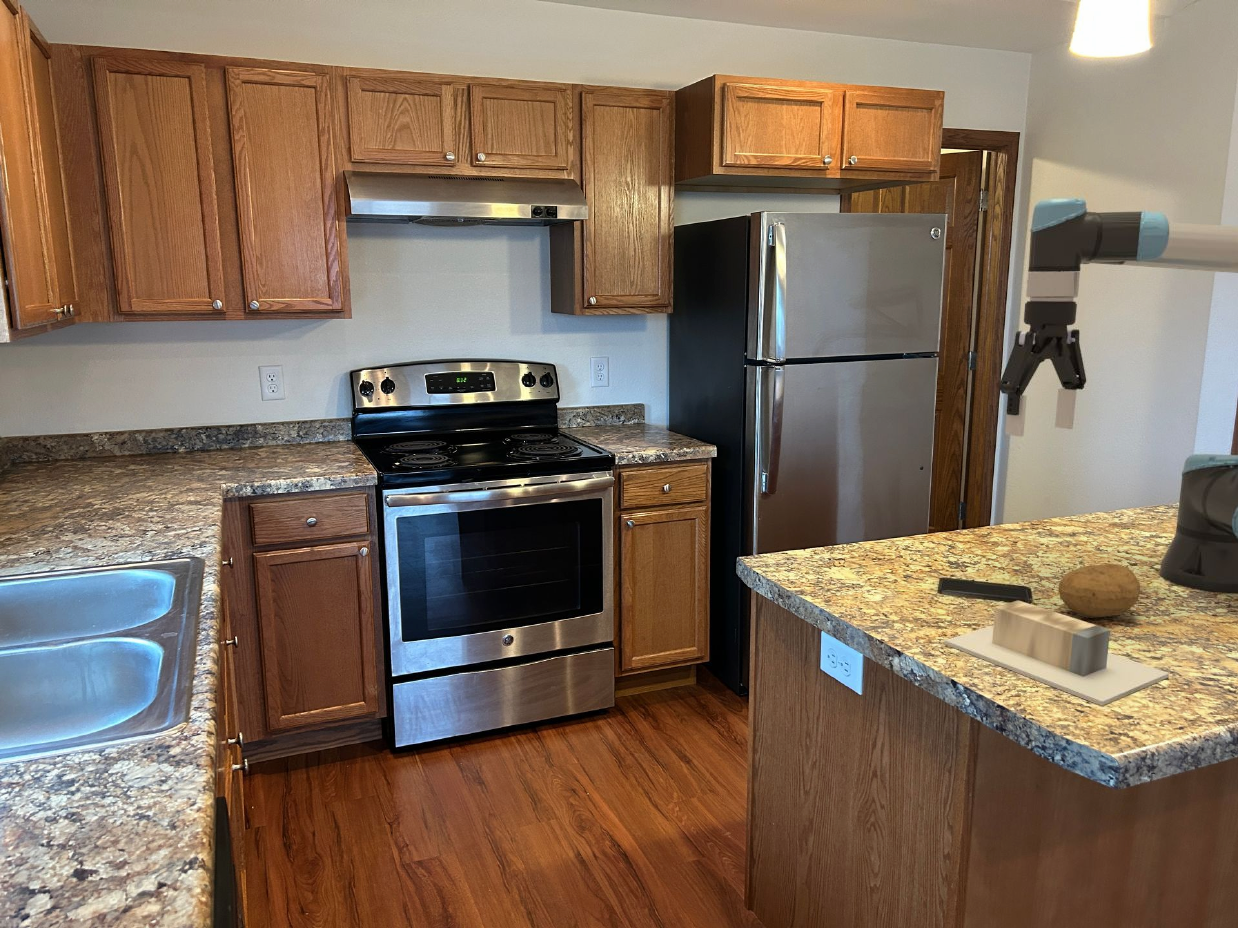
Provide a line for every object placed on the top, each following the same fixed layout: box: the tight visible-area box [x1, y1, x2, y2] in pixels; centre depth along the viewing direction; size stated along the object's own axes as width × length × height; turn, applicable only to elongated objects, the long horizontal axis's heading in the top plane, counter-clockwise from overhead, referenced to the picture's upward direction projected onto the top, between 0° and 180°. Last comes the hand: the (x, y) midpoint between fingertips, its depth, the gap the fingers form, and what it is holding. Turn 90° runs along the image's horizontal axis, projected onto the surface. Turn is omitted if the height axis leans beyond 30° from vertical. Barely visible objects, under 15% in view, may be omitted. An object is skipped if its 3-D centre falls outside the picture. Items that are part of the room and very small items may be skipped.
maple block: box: [992, 601, 1111, 677], centre depth 130 cm, size 6×6×14 cm
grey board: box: [944, 624, 1170, 707], centre depth 130 cm, size 24×16×1 cm, turn 33°
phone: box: [937, 577, 1033, 605], centre depth 159 cm, size 8×1×15 cm
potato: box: [1058, 563, 1141, 619], centre depth 147 cm, size 10×14×8 cm
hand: (1039, 431), depth 150 cm, fingers open, 13 cm apart
